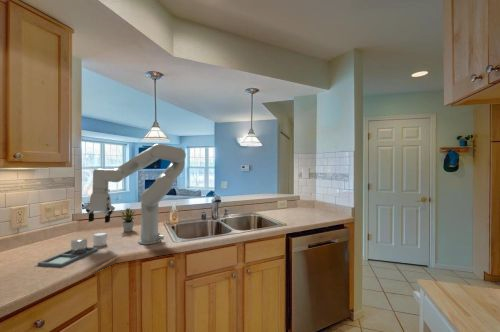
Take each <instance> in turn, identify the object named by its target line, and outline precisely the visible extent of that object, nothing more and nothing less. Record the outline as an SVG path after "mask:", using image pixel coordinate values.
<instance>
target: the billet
mask: <svg viewBox="0 0 500 332" xmlns="http://www.w3.org/2000/svg"><path fill="white" fill-rule="evenodd" d="M87 247H88V238H75V239H72V240H71V242H70V250H71V254H74V255H81V254H84V253H86V252H87Z"/></svg>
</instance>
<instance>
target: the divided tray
mask: <svg viewBox="0 0 500 332" xmlns="http://www.w3.org/2000/svg"><path fill="white" fill-rule="evenodd" d="M100 251H101V249H99V248H98V247H89V246H87V252H86V253H84V254H81V255H74V254H71V249H69V250H67V251H64V252H62V253H59V254H56V255H54V256H50V257H49V258H46V259H44V260H41V261H38V262H37V264H35V265H34V267H38V268H51V269H64V268H65V267H68V266H69V265H70V266H71V264H73V263H76V262H78V261H81V260H84V259H85V258H86V257H90V256H91V255H93V254H95V253H97V252H100Z"/></svg>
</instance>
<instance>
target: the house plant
mask: <svg viewBox="0 0 500 332" xmlns="http://www.w3.org/2000/svg"><path fill="white" fill-rule="evenodd" d="M117 210H119V209H117ZM120 212H121V214H122V215H119V217H118V219H120V218H121V219H122V229H123V232H125V233H127V232H132V231H133V228H134V222H135V221H134V219H135V216H136V214H135V211H133V209H132V208H131V207H129V208H128V207H126V209H125V213H124V211H123V210H122V209H120ZM134 214H135V215H134Z"/></svg>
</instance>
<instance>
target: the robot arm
mask: <svg viewBox="0 0 500 332" xmlns="http://www.w3.org/2000/svg"><path fill="white" fill-rule="evenodd" d="M186 156H187V155H186V151H185V150H184V149H182V148H181V147H178V146H172V145H171V146H170V145H167V144H166V145H165V144H160V143H155V144H154V145H152V146H151V147H148V148H147V149H145V150H143V151H141V152H139V153H138V154H136V155H134V156H133V157H132V158H131V159H129V160H128V161H126V162H124V163H123V164H121V165H119V166H118V167H116V168H113V169H110V168H109V169H107V168H94V170H93V171H92V191H91V194H90V198H89V204H87V205H84V209H85V211H86V213H87V215H88V223H89V222H90V223H91V222H93V221H95V213H104V214H105V215H104V224H107V223H110V221H111V215H112V214H113V213H114V211H115V209H116V207H115V206H113V205H112V200H111V194H110V191H111V190H110V188H109V182H111V183H120V182H121V181H123V180H124V179H126V178H127V177H129V176H130V175H133V174H134V173H136V172H138V171H141V170H143V169H145V168H147V167H148V166H150V165H152V164H154V162H157V161H158V160H163V161H164V160H165V161H170V163H169V164H168V166H167V168H166V169H165V170H164V171H163V172H162V173H160V174H159V176H157V177H156V179H155V181H154V182H153V183H152V184H151V185H150V186H149V187H148V188H146V189H145V190H143V191H142V193H141V196H140V198H141V200H140V203H141V205H140V208H141V209H140V212H141V214H140V216H141V217H140V238H139V239H138V240H137V243H138V244H140V245H154V244H158V243H159V242H161V240H162V241H163V240H164V238H165V236H164V235H163V234H162V235H160V234H161V233H160V232H159V203H160V201H162V199H163V198H164V197H165V196H166V195H167V194H168V193H169V192H170V191H171V189H173V186H174V182H175V181H176V179H178V178H179V176H180V175H181V174H182V173H183V171H184V168H185V159H186Z"/></svg>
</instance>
